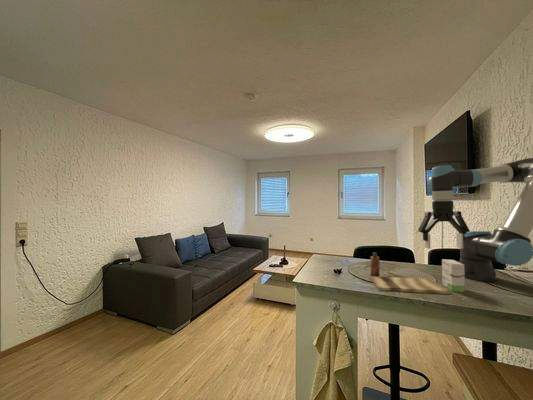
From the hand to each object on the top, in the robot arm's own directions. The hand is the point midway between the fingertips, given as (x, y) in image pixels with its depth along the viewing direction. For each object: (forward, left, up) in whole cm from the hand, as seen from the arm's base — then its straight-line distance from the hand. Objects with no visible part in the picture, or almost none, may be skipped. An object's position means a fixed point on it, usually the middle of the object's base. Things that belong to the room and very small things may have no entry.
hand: (443, 248), depth 101 cm
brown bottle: (+26, -11, -17) cm, 33 cm away
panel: (+16, +1, -17) cm, 24 cm away
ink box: (-3, +1, -18) cm, 18 cm away
